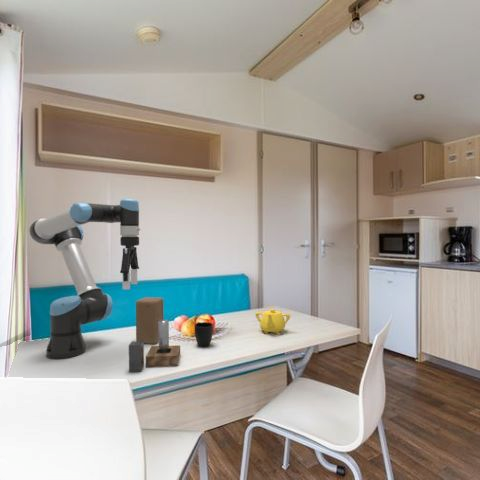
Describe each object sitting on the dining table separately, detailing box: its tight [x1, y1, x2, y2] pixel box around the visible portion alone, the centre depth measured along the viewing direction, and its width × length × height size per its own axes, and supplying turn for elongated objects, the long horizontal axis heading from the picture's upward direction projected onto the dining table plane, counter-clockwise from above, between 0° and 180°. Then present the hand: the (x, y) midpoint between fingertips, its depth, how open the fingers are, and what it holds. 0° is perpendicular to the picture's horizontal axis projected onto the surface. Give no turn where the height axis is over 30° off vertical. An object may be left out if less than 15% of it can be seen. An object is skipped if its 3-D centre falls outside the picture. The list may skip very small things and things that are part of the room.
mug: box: [194, 321, 214, 348], centre depth 155 cm, size 8×12×10 cm
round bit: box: [158, 319, 170, 353], centre depth 135 cm, size 4×4×16 cm
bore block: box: [145, 344, 181, 368], centre depth 135 cm, size 12×12×4 cm
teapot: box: [255, 308, 291, 336], centre depth 174 cm, size 14×14×12 cm
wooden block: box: [135, 296, 165, 345], centre depth 160 cm, size 10×10×20 cm
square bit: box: [128, 340, 145, 373], centre depth 126 cm, size 4×4×10 cm
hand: (130, 286), depth 142 cm, fingers open, 13 cm apart
